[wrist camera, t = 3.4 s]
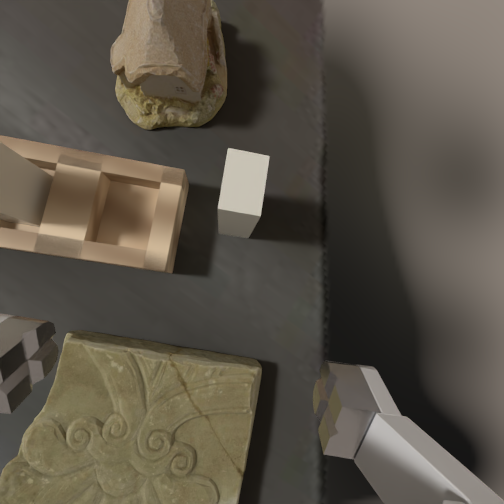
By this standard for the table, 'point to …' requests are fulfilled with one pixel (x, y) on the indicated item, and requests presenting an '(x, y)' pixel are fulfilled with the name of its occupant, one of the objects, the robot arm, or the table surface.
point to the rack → (102, 208)
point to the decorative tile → (137, 426)
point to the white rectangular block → (242, 192)
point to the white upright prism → (22, 189)
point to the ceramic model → (170, 63)
